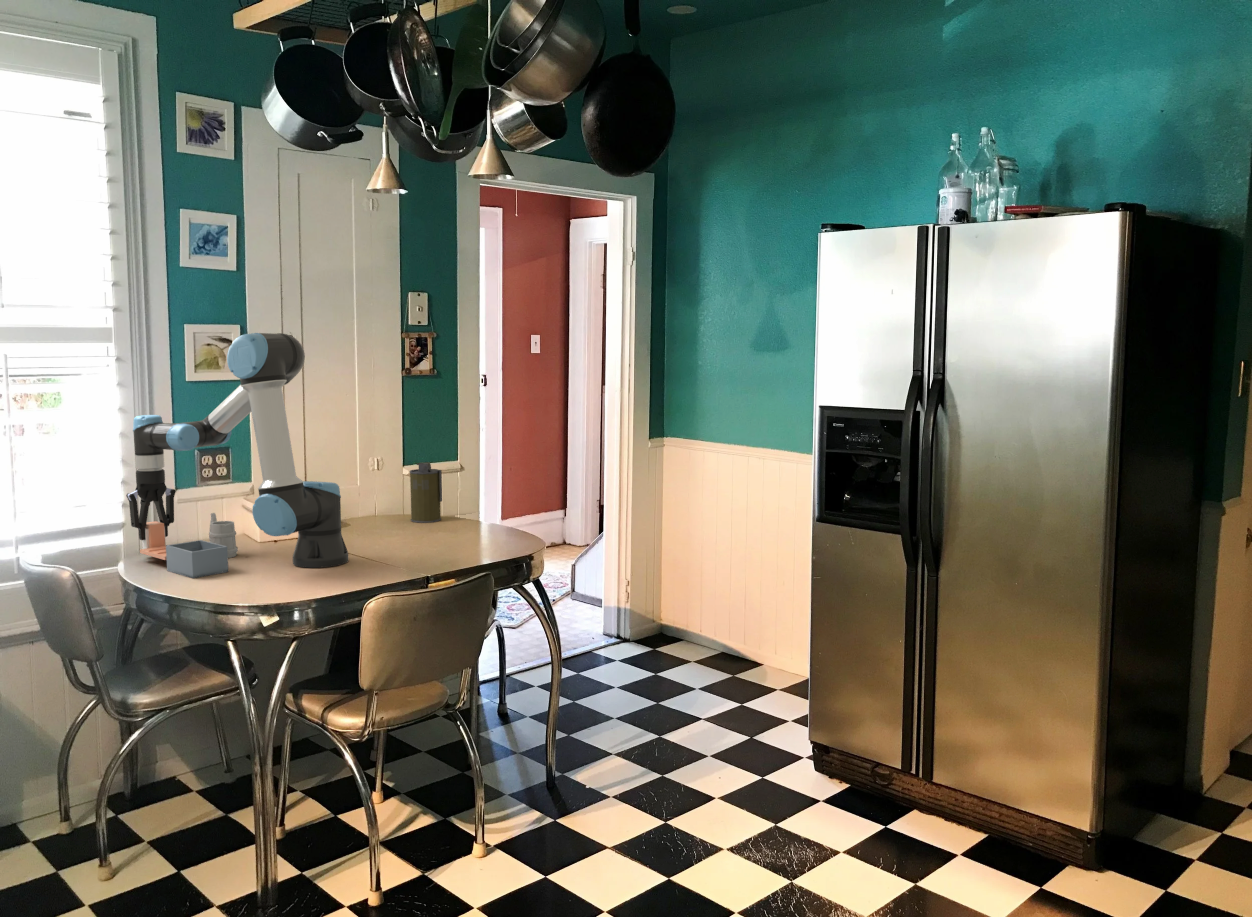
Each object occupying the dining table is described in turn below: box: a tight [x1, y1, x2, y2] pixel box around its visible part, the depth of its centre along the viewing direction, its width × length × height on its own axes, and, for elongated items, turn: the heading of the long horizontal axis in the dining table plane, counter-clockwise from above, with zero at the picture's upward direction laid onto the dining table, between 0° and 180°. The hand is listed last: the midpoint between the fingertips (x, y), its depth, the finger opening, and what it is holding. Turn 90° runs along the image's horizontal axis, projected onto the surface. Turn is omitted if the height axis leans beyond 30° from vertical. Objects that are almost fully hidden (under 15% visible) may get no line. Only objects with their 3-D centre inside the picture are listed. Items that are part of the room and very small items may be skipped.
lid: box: [139, 520, 167, 561], centre depth 295 cm, size 20×11×8 cm, turn 50°
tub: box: [166, 539, 229, 579], centre depth 282 cm, size 14×10×7 cm
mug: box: [208, 512, 239, 559], centre depth 303 cm, size 8×12×12 cm, turn 46°
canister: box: [409, 462, 443, 524], centre depth 360 cm, size 11×10×20 cm
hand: (154, 549), depth 300 cm, fingers closed on lid, 4 cm apart
